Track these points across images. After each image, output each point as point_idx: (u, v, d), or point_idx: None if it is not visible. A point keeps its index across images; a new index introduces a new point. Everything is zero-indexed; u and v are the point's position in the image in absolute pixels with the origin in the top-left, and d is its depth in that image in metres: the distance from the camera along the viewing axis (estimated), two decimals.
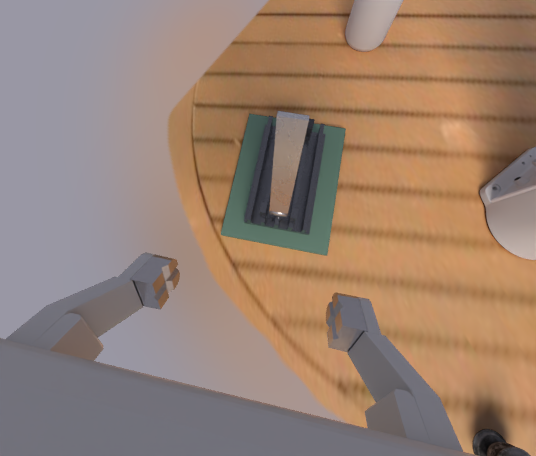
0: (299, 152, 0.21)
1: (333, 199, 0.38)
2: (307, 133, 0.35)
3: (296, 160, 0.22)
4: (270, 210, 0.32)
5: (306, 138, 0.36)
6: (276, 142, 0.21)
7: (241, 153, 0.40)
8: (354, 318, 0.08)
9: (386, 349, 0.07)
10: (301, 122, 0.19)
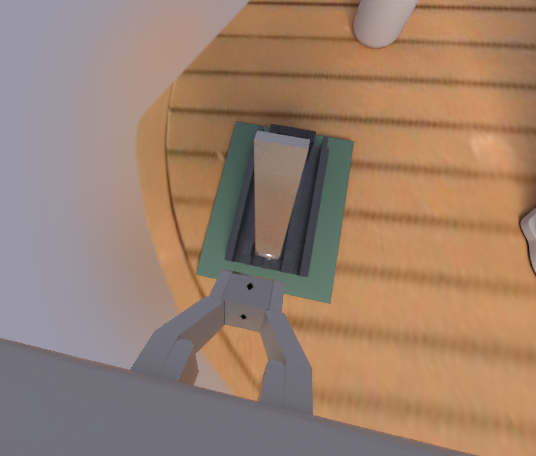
0: (293, 192, 0.14)
1: (338, 230, 0.30)
2: None
3: (289, 201, 0.15)
4: (256, 251, 0.24)
5: None
6: (256, 177, 0.13)
7: (224, 170, 0.32)
8: (260, 298, 0.08)
9: (279, 324, 0.07)
10: (296, 151, 0.11)
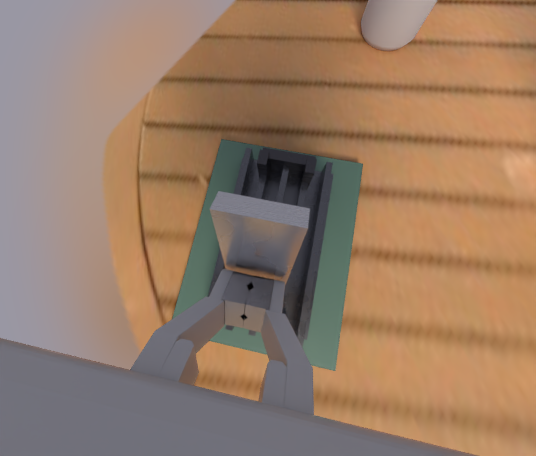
0: (284, 274, 0.09)
1: (345, 276, 0.24)
2: (305, 179, 0.22)
3: None
4: None
5: (303, 185, 0.22)
6: (225, 254, 0.08)
7: (207, 199, 0.27)
8: (260, 298, 0.08)
9: (280, 325, 0.07)
10: (285, 229, 0.06)
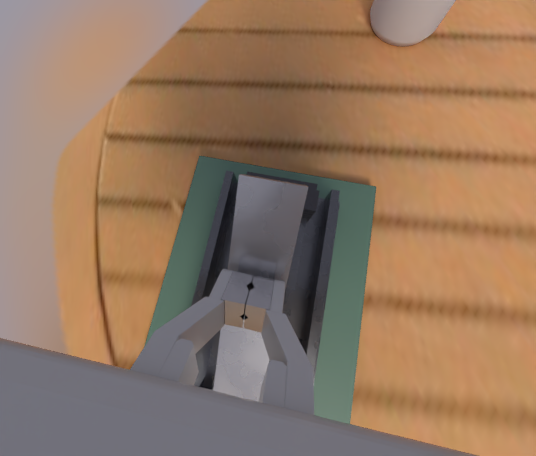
0: (286, 262, 0.09)
1: (355, 335, 0.19)
2: (303, 215, 0.16)
3: None
4: None
5: (301, 221, 0.17)
6: (234, 237, 0.09)
7: (179, 233, 0.21)
8: (261, 298, 0.08)
9: (281, 325, 0.07)
10: (292, 191, 0.08)
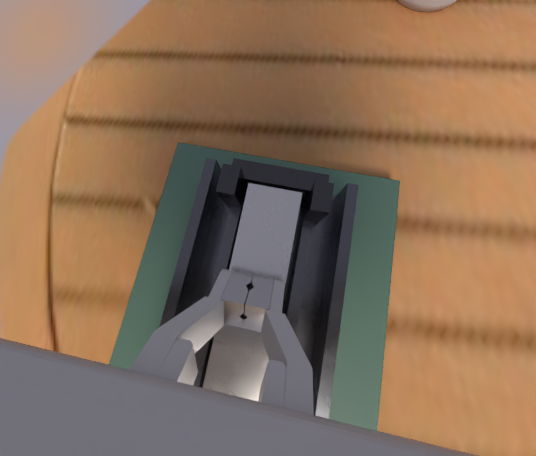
0: (286, 257, 0.10)
1: (377, 374, 0.14)
2: (310, 217, 0.12)
3: (279, 279, 0.10)
4: None
5: (307, 226, 0.12)
6: (240, 234, 0.11)
7: (151, 239, 0.17)
8: (260, 298, 0.08)
9: (280, 325, 0.07)
10: (290, 195, 0.11)
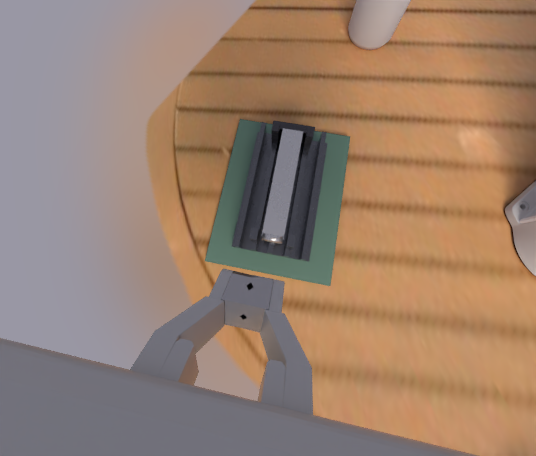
0: (297, 154, 0.28)
1: (337, 219, 0.32)
2: (306, 143, 0.30)
3: (295, 161, 0.28)
4: (263, 231, 0.27)
5: (305, 148, 0.30)
6: (280, 146, 0.28)
7: (230, 164, 0.35)
8: (260, 298, 0.08)
9: (279, 324, 0.07)
10: (298, 132, 0.29)
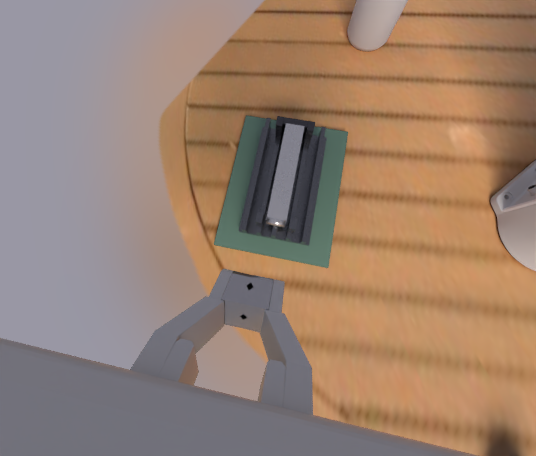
0: (299, 146, 0.31)
1: (335, 207, 0.35)
2: (307, 137, 0.33)
3: (297, 153, 0.31)
4: (268, 215, 0.30)
5: (306, 142, 0.33)
6: (283, 139, 0.31)
7: (237, 157, 0.37)
8: (260, 298, 0.08)
9: (279, 325, 0.07)
10: (300, 127, 0.32)
